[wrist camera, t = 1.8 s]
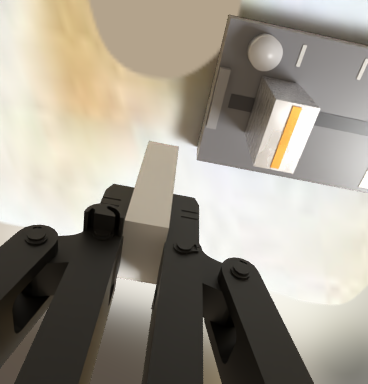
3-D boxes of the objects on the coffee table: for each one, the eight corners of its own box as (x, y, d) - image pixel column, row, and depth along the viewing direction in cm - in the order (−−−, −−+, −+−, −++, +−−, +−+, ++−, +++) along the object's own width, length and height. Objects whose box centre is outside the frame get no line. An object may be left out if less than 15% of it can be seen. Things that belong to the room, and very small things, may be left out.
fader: (262, 75, 28) (276, 99, 22) (298, 83, 28) (320, 109, 23) (244, 133, 30) (253, 166, 25) (277, 140, 30) (293, 174, 25)
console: (228, 14, 28) (232, 20, 24) (482, 71, 29) (519, 84, 26) (197, 148, 34) (196, 167, 31) (406, 189, 36) (428, 212, 32)
